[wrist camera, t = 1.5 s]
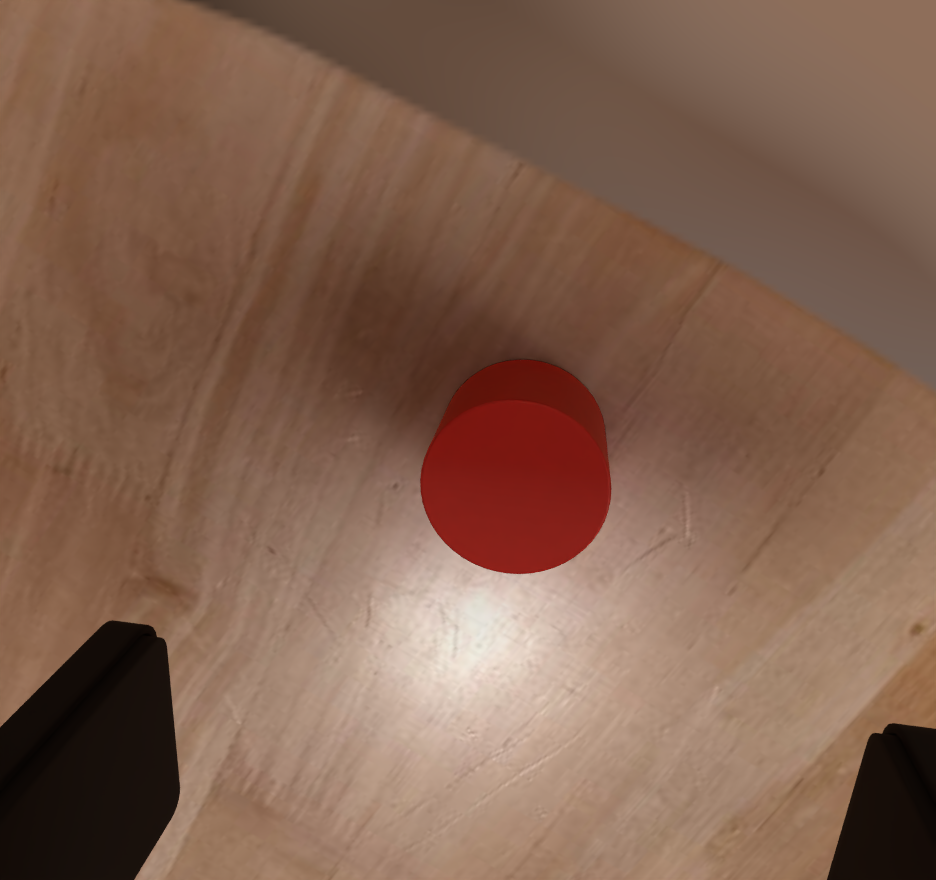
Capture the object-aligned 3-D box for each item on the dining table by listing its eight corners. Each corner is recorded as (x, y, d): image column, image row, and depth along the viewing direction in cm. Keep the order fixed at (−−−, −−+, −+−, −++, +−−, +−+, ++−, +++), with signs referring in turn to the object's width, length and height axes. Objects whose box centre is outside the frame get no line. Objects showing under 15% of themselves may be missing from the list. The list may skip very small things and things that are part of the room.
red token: (446, 351, 21) (423, 390, 18) (614, 366, 20) (623, 409, 17) (439, 503, 22) (417, 564, 19) (595, 519, 22) (599, 584, 19)
